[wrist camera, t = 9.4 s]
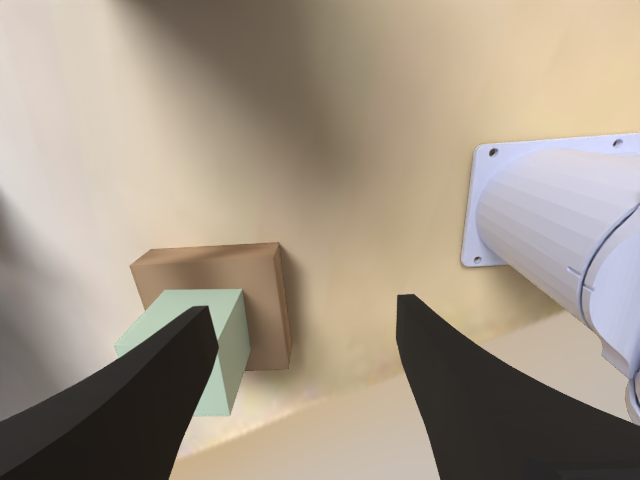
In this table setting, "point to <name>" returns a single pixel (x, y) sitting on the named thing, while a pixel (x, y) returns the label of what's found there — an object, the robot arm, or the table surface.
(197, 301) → the sage cube
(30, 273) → the table surface
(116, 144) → the table surface
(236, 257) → the walnut base
